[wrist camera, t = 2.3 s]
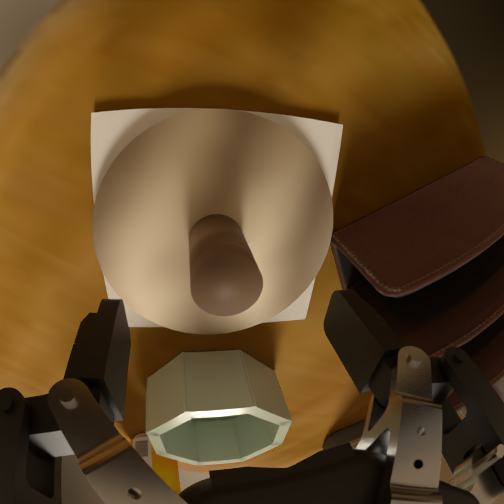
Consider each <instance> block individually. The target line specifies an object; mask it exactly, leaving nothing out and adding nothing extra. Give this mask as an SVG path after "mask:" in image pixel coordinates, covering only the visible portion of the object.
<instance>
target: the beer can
mask: <svg viewBox="0 0 504 504" xmlns="http://www.w3.org/2000/svg"><path fill="white" fill-rule="evenodd" d="M130 444H131V445H132V447H133V448H134V449H135V450H136V451H137V453H138V454H139V455H140V456H141V457H142V458H143V459H144V460H145V462H146V463H147V464H148V465H149V466H150V467H151V468H152V469H153V470H154V471H155V472H156V473H157V475H158V476H159V477H160V478H161V479H162V480H163V481H164V482H165V483H166V484H167V485H168V486H169V487H170V488H171V489H172V490H174V491H175V492H176V493H177V494H179V493H181V490H180V482H179V473H178V463H177V460H174V459H170V458H167V457H164V456H160V455H157V454H156V452H155V450H154V448H153V446H152V444H151V442H150V440H149V437H148V435H147V434H146V433H142V434H138V435H136V436H135V437H134V439H132V440H131V441H130Z"/></svg>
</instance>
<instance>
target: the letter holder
mask: <svg viewBox="0 0 504 504" xmlns="http://www.w3.org/2000/svg"><path fill="white" fill-rule="evenodd" d="M330 245H331V249H332V252H333V255H334V259H335V262H336V266H337V270H338V274H339V278H340V282H341V285H342V290H350V289H352V290H354V291H355V292H356V294H357V295H358V296H359V297H360V298H361V299H362V300H364V301H365V302H367V303H368V304H370V305H371V306H373V307H374V308H375V309H376V311H377V312H378V313H379V314H380V317H382V318H383V319H384V320H385V322H386V324H388V325H389V326H390V328H391V329H392V330H393V331H394V333H395V334H396V335H397V336H398V337H399V339H400V340H401V341H402V342H403V344H404V345H405V346H414V347H417V348H419V349H421V350H423V351H424V352H425V353H426V354H427V355H428V357H442V355H443V354H444V352H445V351H446V349H447V348H449V347H457V348H460V349H462V350H463V351H465V352H466V353H467V354H468V355H469V357H470V358H471V359H472V360H473V362H474V363H475V364H476V365H477V367H478V368H479V369H480V371H481V372H482V373H483V375H484V376H485V377H486V378H487V380H488V381H489V382H490V384H491V385H492V386H494V385H495V384H496V383H497V382H498V381H499V380H500V379H501V378H503V377H504V164H503V163H501V162H499V161H496V160H494V159H491V158H489V157H486V156H482V157H481V158H479V159H476V160H475V161H473V162H471V163H469V164H467V165H465V166H464V167H462V168H460V169H458V170H456V171H454V172H452V173H450V174H448V175H447V176H444V177H443V178H440V179H438V180H437V181H435V182H433V183H431V184H429V185H427V186H425V187H423V188H421V189H419V190H417V191H415V192H413V193H411V194H409V195H407V196H405V197H403V198H402V199H400V200H397V201H396V202H393V203H391V204H389V205H388V206H386V207H384V208H381V209H380V210H377V211H376V212H374V213H372V214H369V215H368V216H366V217H364V218H362V219H360V220H358V221H356V222H354V223H352V224H350V225H348V226H346V227H344V228H342V229H340V230H338V231H336V232H334V233H332V237H331V242H330ZM447 399H448V400H449V402H450V403H451V405H452V406H453V408H454V410H455V411H456V412H457V411H459V410H460V409H462V408H464V407H465V405H464V404H463V402H462V401H461V399H460V398H459V396H458V395H457V393H456V392H455V390H453V392H452V393H451V394H450V395H449V397H448V398H447Z"/></svg>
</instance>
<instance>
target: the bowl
mask: <svg viewBox="0 0 504 504" xmlns="http://www.w3.org/2000/svg"><path fill="white" fill-rule="evenodd" d="M291 422H292V419H291V416H290V413H289V410H288V407H287V405H286V402H285V399H284V396H283V394H282V391H281V388H280V385H279V382H278V380H277V377H276V374H275V371H274V370H272V369H270V368H269V367H267V366H265V365H264V364H262V363H261V362H259V361H257V360H256V359H254V358H253V357H251V356H249V355H248V354H246V353H245V352H243V351H242V349H241V350H240V349H239V350H227V351H209V352H182V353H181V354H179V355H178V356H177V357H175V358H174V359H173V360H171V361H170V362H169V363H167V364H166V365H165V366H163V367H162V368H161V369H159V370H158V371H156V372H155V373H154V374H152V375H151V376H150V377H148V378H147V390H146V434H147V435H148V437H149V440H150V442H151V444H152V446H153V448H154V450H155V452H156V454H157V455H160V456H164V457H167V458H170V459H174V460H178V461H181V462H185V463H189V464H193V465H209V464H222V463H232V462H241V461H245V460H248V459H250V458H252V457H255V456H257V455H259V454H261V453H264V452H266V451H268V450H270V449H272V448H274V447H276V446H278V445H280V444H282V442H283V440H284V438H285V436H286V433H287V431H288V429H289V426H290V424H291Z"/></svg>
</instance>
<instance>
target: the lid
mask: <svg viewBox="0 0 504 504" xmlns="http://www.w3.org/2000/svg"><path fill="white" fill-rule="evenodd" d="M332 230H333V205H332V197H331V193H330V190H329V186H328V183H327V180H326V178H325V176H324V173H323V171H322V169H321V167H320V166H319V164H318V162H317V161H316V159H315V157H314V156H313V155H312V154H311V152H310V151H309V150H308V149H307V148H306V146H305V145H304V144H303V143H302V142H301V141H300V140H298V139H297V138H296V137H295V136H294V135H293V134H292V133H290V132H289V131H287V130H286V129H284V128H283V127H281V126H280V125H278V124H276V123H274V122H272V121H270V120H268V119H266V118H263V117H261V116H258V115H255V114H251V113H248V112H244V111H238V110H231V109H203V110H196V111H190V112H185V113H182V114H179V115H176V116H173V117H170V118H167V119H165V120H163V121H161V122H159V123H157V124H155V125H153V126H151V127H150V128H148V129H147V130H145V131H144V132H142V133H141V134H140V135H138V136H137V137H135V138H134V139H133V140H132V141H131V142H130V143H129V144H128V145H127V146H126V147H125V148H124V149H123V150H122V151H121V152H120V153H119V155H118V156H117V157H116V158H115V160H114V161H113V162H112V164H111V165H110V167H109V169H108V170H107V172H106V174H105V176H104V178H103V180H102V182H101V185H100V187H99V190H98V192H97V195H96V200H95V204H94V209H93V218H92V235H93V244H94V248H95V253H96V257H97V259H98V262H99V265H100V267H101V270H102V272H103V274H104V276H105V277H106V279H107V281H108V283H109V284H110V286H111V287H112V288H113V290H114V291H115V292H116V294H117V295H118V296H119V297H120V298H121V299H122V300H123V301H124V302H125V303H126V304H127V305H128V306H129V307H131V308H132V309H133V310H134V311H136V312H137V313H138V314H140V315H141V316H143V317H145V318H146V319H148V320H150V321H152V322H154V323H156V324H158V325H160V326H163V327H166V328H169V329H172V330H176V331H180V332H185V333H192V334H224V333H230V332H235V331H240V330H243V329H246V328H250V327H253V326H255V325H257V324H260V323H262V322H264V321H266V320H268V319H270V318H272V317H274V316H275V315H277V314H279V313H280V312H281V311H283V310H284V309H286V308H287V307H288V306H290V305H291V304H292V303H293V302H294V301H295V300H296V299H298V298H299V297H300V295H301V294H302V293H303V292H304V291H305V290H306V289H307V288H308V286H309V285H310V284H311V282H312V281H313V280H314V278H315V277H316V275H317V273H318V272H319V270H320V268H321V266H322V264H323V262H324V260H325V257H326V255H327V252H328V249H329V245H330V242H331V237H332Z"/></svg>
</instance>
